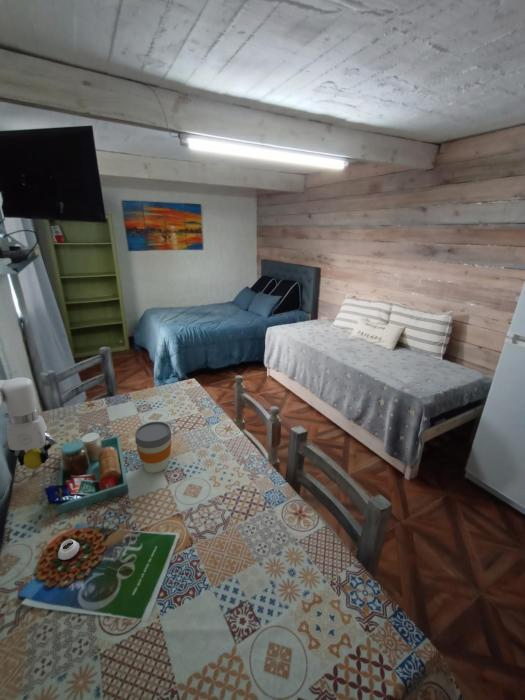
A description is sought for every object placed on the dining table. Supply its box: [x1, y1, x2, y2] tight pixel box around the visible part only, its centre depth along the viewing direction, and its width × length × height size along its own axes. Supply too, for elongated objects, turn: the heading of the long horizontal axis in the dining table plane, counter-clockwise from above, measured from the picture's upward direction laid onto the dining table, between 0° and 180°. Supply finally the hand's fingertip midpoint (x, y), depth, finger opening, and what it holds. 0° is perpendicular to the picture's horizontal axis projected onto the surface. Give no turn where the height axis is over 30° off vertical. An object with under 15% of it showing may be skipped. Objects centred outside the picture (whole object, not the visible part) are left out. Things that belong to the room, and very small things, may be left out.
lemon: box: [24, 448, 43, 470], centre depth 107 cm, size 6×6×8 cm
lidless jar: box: [57, 538, 81, 561], centre depth 86 cm, size 5×3×5 cm
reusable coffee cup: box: [134, 421, 173, 474], centre depth 117 cm, size 13×13×15 cm
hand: (34, 461), depth 107 cm, fingers closed on lemon, 5 cm apart
